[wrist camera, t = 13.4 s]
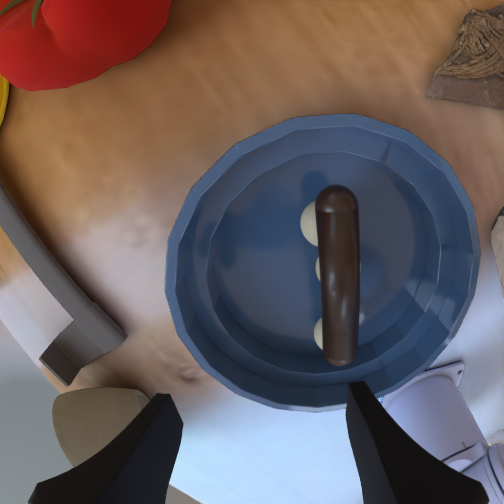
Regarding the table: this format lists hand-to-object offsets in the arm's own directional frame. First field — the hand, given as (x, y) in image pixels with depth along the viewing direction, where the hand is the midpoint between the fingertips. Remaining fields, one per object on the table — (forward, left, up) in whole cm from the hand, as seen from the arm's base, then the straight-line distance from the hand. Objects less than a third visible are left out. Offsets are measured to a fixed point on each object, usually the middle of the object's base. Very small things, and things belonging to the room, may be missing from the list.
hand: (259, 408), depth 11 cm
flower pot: (-9, +10, -7) cm, 16 cm away
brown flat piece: (+16, -24, -9) cm, 30 cm away
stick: (+2, -4, -6) cm, 8 cm away
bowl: (+2, -4, -9) cm, 10 cm away
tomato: (+20, +7, -9) cm, 23 cm away
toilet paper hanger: (+5, +19, -6) cm, 20 cm away
